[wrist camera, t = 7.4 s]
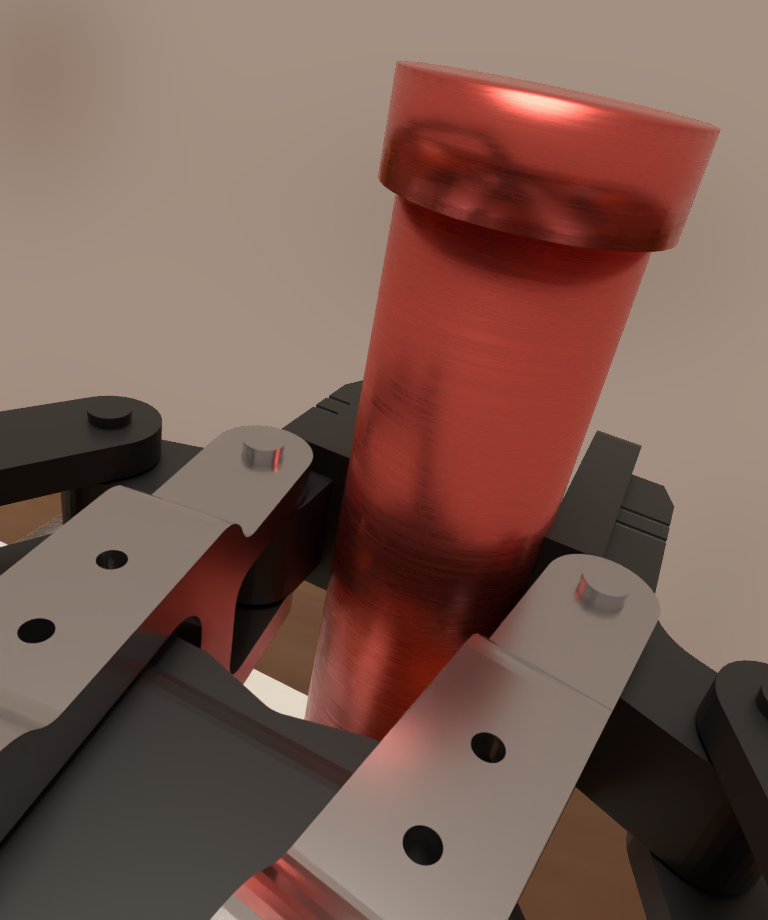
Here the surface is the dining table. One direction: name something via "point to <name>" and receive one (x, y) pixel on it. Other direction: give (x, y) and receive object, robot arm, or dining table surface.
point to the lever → (484, 360)
